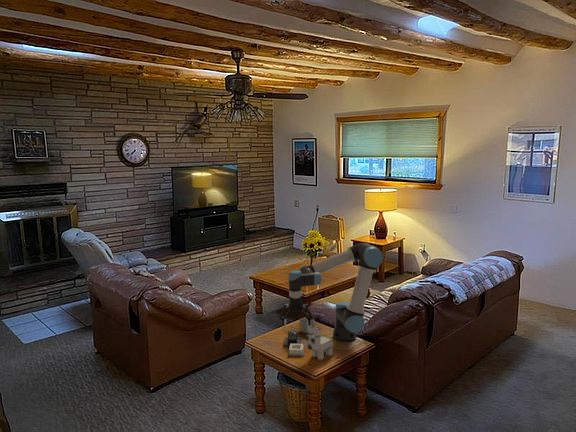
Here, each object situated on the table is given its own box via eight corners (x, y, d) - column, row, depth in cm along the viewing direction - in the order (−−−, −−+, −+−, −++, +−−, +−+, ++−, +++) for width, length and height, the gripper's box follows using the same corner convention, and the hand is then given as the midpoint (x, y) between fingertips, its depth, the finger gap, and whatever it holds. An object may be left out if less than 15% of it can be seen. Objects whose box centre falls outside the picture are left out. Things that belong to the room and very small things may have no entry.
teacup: (313, 335, 282) (313, 324, 280) (297, 334, 284) (297, 323, 283) (316, 327, 295) (316, 316, 294) (300, 326, 297) (300, 315, 296)
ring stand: (302, 339, 276) (301, 322, 275) (301, 347, 266) (300, 329, 264) (285, 338, 277) (285, 322, 276) (283, 346, 267) (283, 329, 265)
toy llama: (335, 353, 256) (335, 322, 253) (314, 363, 245) (314, 330, 242) (326, 349, 262) (326, 318, 259) (305, 359, 250) (305, 326, 247)
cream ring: (303, 348, 262) (303, 343, 262) (302, 354, 254) (302, 349, 254) (290, 348, 263) (290, 343, 263) (289, 354, 255) (289, 349, 255)
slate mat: (304, 348, 263) (304, 347, 263) (303, 356, 254) (303, 355, 253) (289, 348, 264) (289, 347, 264) (288, 355, 254) (288, 355, 254)
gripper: (316, 294, 256) (317, 327, 259) (275, 294, 258) (276, 327, 262) (316, 298, 249) (317, 332, 252) (274, 298, 251) (275, 332, 254)
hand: (296, 330), depth 257 cm, fingers open, 13 cm apart
